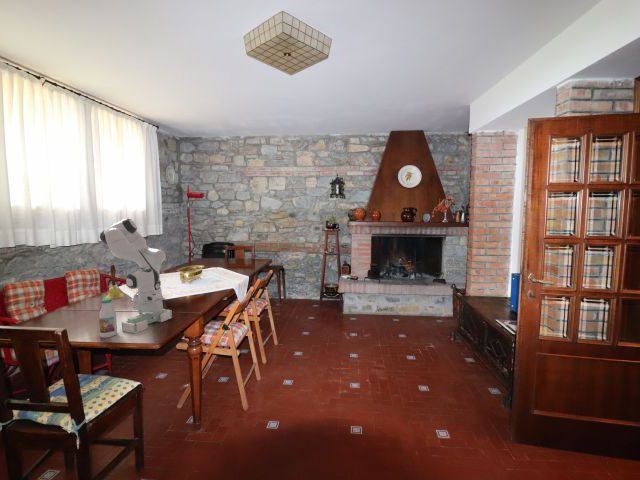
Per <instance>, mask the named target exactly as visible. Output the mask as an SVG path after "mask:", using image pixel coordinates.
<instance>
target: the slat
mask: <svg viewBox="0 0 640 480" xmlns="http://www.w3.org/2000/svg"><path fill="white" fill-rule="evenodd" d="M166 310H167V309H165V308H163V310H162V312H159V313H158V314H157V316H156V319H155V320H154V319H152V316H153V315H154V314H153V312H146V313H145V312H144V313H143V314H142V315H139V314H138V315H134V316H133V317H128V318H127V320H128V323H133V324H136V323H139V322H141V321H144V320H147V323H148V325H149V324H152V323H155V322H158V320H160V314H162V313H164V312H166Z"/></svg>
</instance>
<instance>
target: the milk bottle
mask: <svg viewBox="0 0 640 480" xmlns="http://www.w3.org/2000/svg"><path fill="white" fill-rule="evenodd" d="M100 302H101V309H100V311H99V315H98V323H99V336H100V338H103V339H105V338H112V337H115V336H116V335H118V323H117V321H118V320H117V312H116V310H115V308H114V307H113V305H112V303H113V299H111V298H106V299H105V298H103V299H101V301H100Z"/></svg>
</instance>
